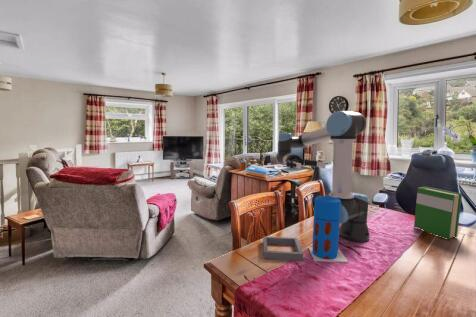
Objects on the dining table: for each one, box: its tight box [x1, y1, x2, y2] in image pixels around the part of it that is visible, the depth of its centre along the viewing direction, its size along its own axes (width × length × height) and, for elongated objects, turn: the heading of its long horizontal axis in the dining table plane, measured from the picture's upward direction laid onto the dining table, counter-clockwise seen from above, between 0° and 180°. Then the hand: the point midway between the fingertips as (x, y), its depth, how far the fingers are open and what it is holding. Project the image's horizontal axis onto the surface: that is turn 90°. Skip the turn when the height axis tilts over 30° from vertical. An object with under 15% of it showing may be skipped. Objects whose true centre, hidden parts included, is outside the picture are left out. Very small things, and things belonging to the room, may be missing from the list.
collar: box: [262, 236, 304, 262], centre depth 119 cm, size 16×16×3 cm
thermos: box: [312, 195, 341, 259], centre depth 114 cm, size 11×11×25 cm
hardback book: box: [413, 186, 463, 239], centre depth 142 cm, size 18×7×24 cm, turn 24°
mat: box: [308, 246, 349, 264], centre depth 116 cm, size 14×12×1 cm
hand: (312, 166), depth 126 cm, fingers open, 13 cm apart
